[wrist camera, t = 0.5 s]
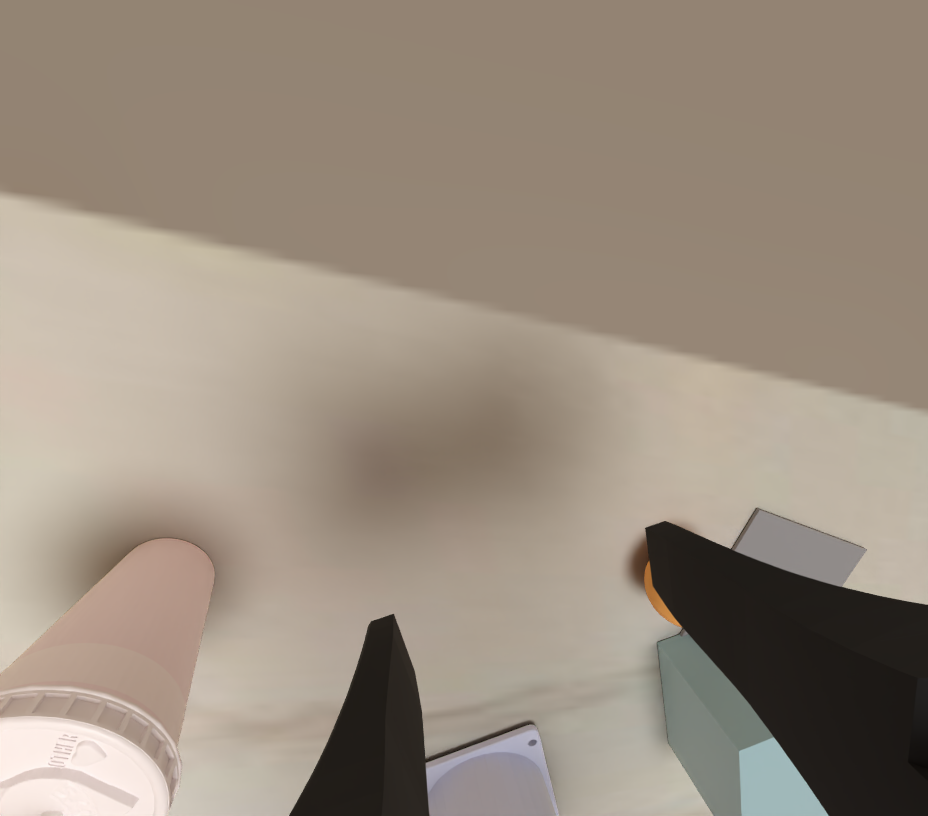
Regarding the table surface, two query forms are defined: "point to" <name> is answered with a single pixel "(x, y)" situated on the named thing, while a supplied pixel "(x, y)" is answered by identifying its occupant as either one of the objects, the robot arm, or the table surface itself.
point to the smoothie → (107, 692)
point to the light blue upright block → (726, 740)
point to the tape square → (797, 549)
